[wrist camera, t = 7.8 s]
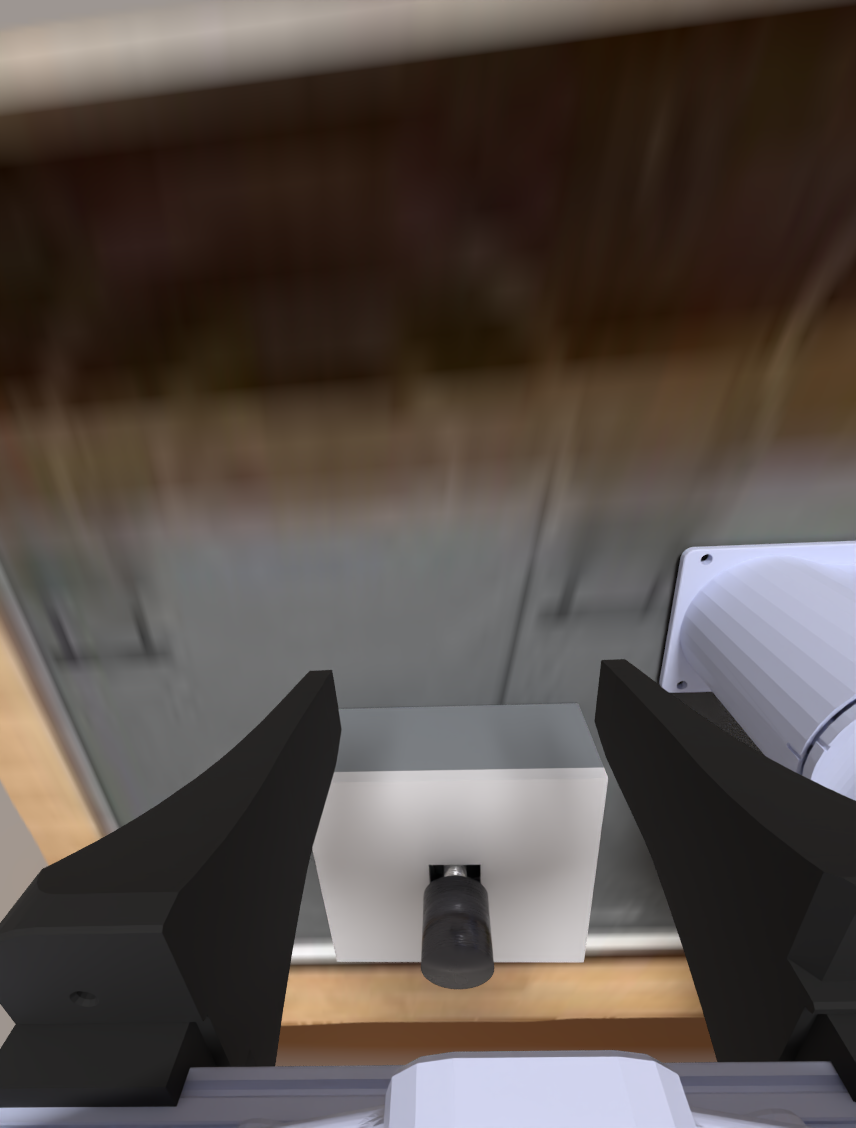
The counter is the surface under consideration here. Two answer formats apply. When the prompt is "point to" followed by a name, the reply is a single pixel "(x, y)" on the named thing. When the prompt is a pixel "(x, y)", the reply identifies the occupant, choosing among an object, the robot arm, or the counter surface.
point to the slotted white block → (462, 826)
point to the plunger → (456, 928)
